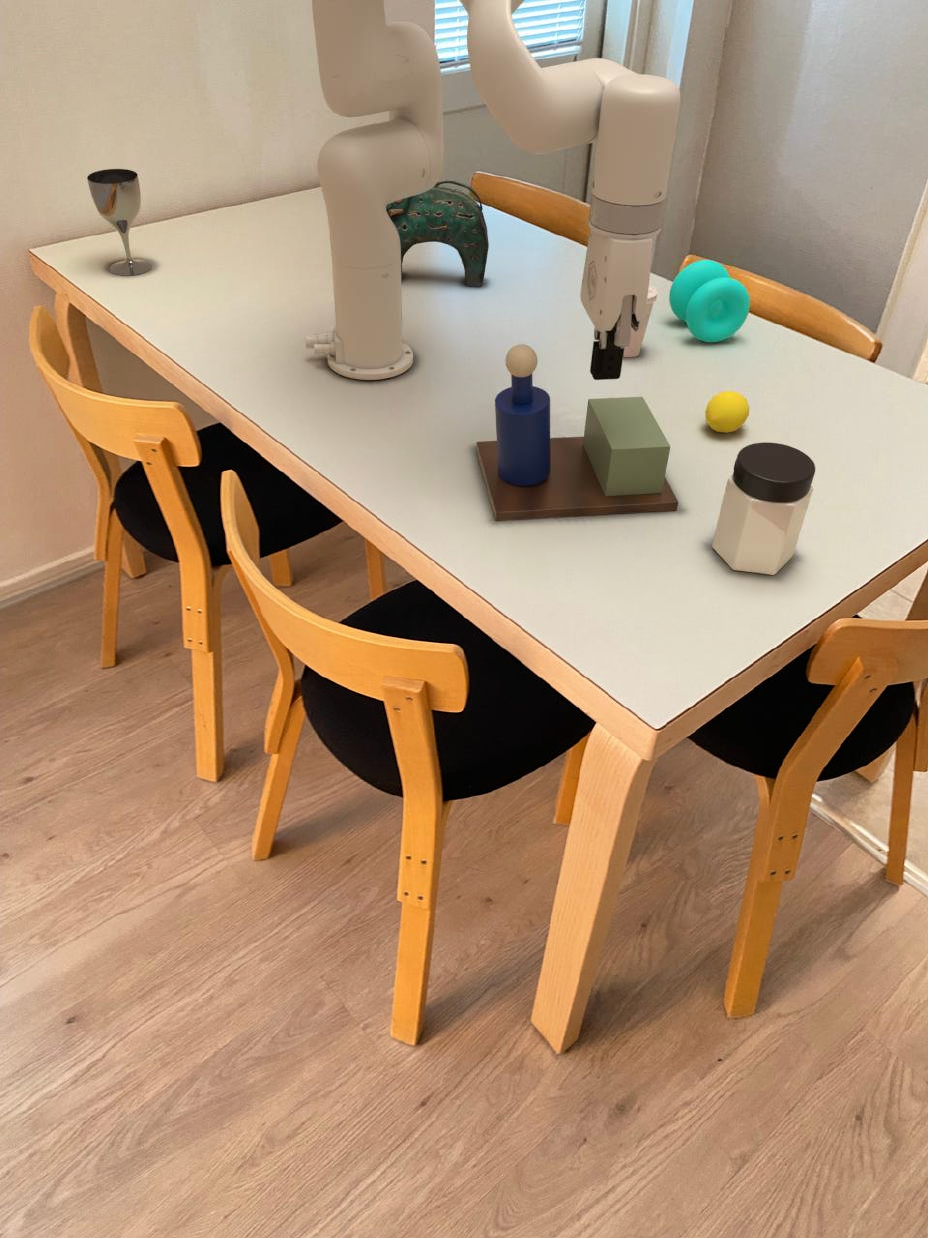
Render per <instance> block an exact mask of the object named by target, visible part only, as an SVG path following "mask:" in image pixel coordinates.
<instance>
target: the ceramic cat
mask: <svg viewBox="0 0 928 1238" xmlns="http://www.w3.org/2000/svg"><path fill="white" fill-rule="evenodd" d="M446 184H451V185H456V186H458V187H462V188H465V189H467V190H469V191H470V192H471V193H472V194H473V195H474V196H475V197H476V199H477V200H478V201H476V199H475V198H474V197H473V196H472V195H470V194H469V193H468V192H467V191H465V190H463V189H461V188H458V187H455V186H451V185H446ZM483 209H484V208H483V204H482V200H481V198H480V196H479V194H478V193H477V192H476V190H475V189H474V188H473V187H472V186H470V185H467V184H466V183H464V182H460V181H456V180H441V181H438V182H437V184H436V185H435V186H434V187H433V188H431V189H430V190H428V191H426V192H424V193H421V194H418V195H415V196H411V197H408V198H404V199H401V200H397V201H395V202H393V203H390V204H387V206H386V211H387V214H388V216H389V217H390V219H391V221H392V222H393V224H394V225H395V227H396V229H397V231H398V234H399V238H400V245H401V276H402V274H403V262H404V258H405V255H406V254H407V253H408V252H409V250H410V249H411V248H412V247H413V246H414V245H419V244H423V243H441V244H444V245H447V246H450V247H451V248H453V249H454V250H456V251H457V253H458V255H459V258H460V259H461V264H462V265H463V266H462V267H463V270H464V284H465V286H467V287H475V288H476V287H483V284H484V279H485V273H486V266H487V260H488V254H489V249H490V247H489V246H490V243H489V242H490V241H489V234H488V226H487V223H486V219H485V215H484V212H483Z"/></svg>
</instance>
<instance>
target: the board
mask: <svg viewBox="0 0 928 1238" xmlns="http://www.w3.org/2000/svg"><path fill="white" fill-rule="evenodd" d="M583 439H584V436H569V437H566V436H565V437H550V474H549V476H548V477H547V478H546V479H545V480H544V481H542V482H540V483H538V484H535V485H531V486H516V485H511V484H509V483H507V482H505V481H503V480H502V479H501V478H500V476H499V473H498V456H497V440H483V441H476V443H475V450H476V454H477V457H478V462H479V464H480V465H479V466H480V468H481V472H482V475H483V479H484V484H485V487H486V490H487V494H488V498H489V502H490V505H491V510H492V512H493V517H494V519H495V521H497V522H498V521H513V520H532V519H549V518H566V517H567V518H569V517H582V516H599V515H600V516H601V515H616V514H617V515H618V514H634V513H635V514H636V513H652V512H653V513H655V512H669V511H670V512H671V511H677V510H678V507H679V500H678V499H677V497H676V495H675V493H674V491H673V489H672V487H671V485H670V483H669V482H668V480H667V478H666V477H665V478H664V484H663V489H662V493H656V494H638V495H620V496H605V494H604V492H603V490H602V487H601V485H600V483H599V480H598V478H597V476H596V474H595V471H594V469H593V467H592V464H591V462H590V460H589V457H588V455H587V453H586V450H585V448H584V446H583Z"/></svg>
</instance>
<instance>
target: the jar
mask: <svg viewBox="0 0 928 1238" xmlns="http://www.w3.org/2000/svg"><path fill="white" fill-rule="evenodd" d="M733 464H734V465H733V472H732V474H731V475H730V476H729V477H728V478H727V481H726V485H725V489H724V490H725V491H724V494H723V499H722V502H721V506H720V510H719V515H718V519H717V524H716V526H715V531H714V537H713V540H712V545H711V547H712V549H713V550H714V551H715V552H716V554H718V555H719V557H720V558H721V559H722V560H723V561H724V562H725V563H726V564H727V565H728V566H729V567H730V568H731V569H732V570H733V571H740V572H746V573H754V574H755V573H756V574H763V575H771V576H774V575H776V574H777V573H778V572H779V571H780V570H781V569H782V568H783V567H784V566H785V565H786V564H787V563H788V562H789V561H790V560H791V559H792V557H793V556H794V553H795V550H796V546H797V543H798V540H799V537H800V534H801V530H802V527H803V524H804V521H805V517H806V514H807V511H808V508H809V504H810V502H811V497H812V495H813V491H814V487H813V486H812V484H813V481H814V477H815V474H816V464H815V462H814V461H813V459H812V458H811V457H810V456H809V455H808V454H806V453H805V452H803V451H801V450H799V449H798V448H795V447H793V446H790V445H787V444H783V443H777V442H769V441H768V442H766V441H765V442H764V441H763V442H756V443H752V444H748V445H746V446H744V447H743V448H741V449H740V450H739V451H738V453H737V455H736V458H735V460H734V463H733Z"/></svg>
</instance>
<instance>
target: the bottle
mask: <svg viewBox="0 0 928 1238" xmlns="http://www.w3.org/2000/svg"><path fill="white" fill-rule="evenodd" d="M505 355H506V356H505V359H504V360H505V361H504V362H505V367H506V369H507V371H508V372H509V373H510V379H511V386H510V387H507V388H505V389H502V390H501V391H500V392H498V393H497V394H496V396H495V397H494V398H495V399H494V413H495V414H494V415H495V431H496V432H495V434H496V441H497V456H498V473H499V476H500V478H501V479H502V480H503V481H505V482H507V483H509V484H511V485H516V486H531V485H535V484H538V483H540V482H542V481H544V480H545V479H546V478H547V477H548V476H549V474H550V438H551V396H550V394H549V393H548V391H546V390H545V389H543V388H540V387H538V386H534V385H533V383H534V382H533V379H534V378H533V374H534V372H535V371H536V369H537V366H538V355H537V353H536V351H535V350H534V348H532V347H531V346H529V345H528V344H524V343H523V344H521V343H519V344H516V345H514V346H512V347H511V348H509V350H508V352H507V353H506V354H505Z"/></svg>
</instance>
